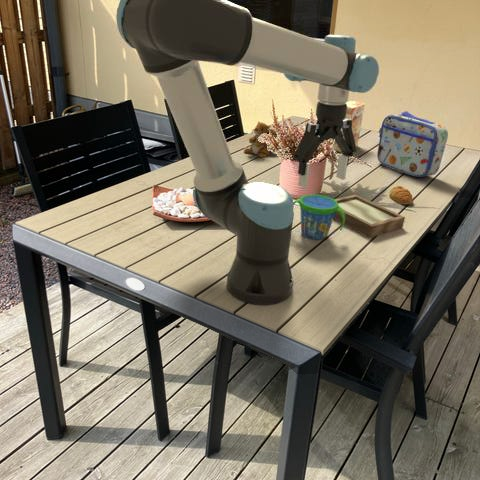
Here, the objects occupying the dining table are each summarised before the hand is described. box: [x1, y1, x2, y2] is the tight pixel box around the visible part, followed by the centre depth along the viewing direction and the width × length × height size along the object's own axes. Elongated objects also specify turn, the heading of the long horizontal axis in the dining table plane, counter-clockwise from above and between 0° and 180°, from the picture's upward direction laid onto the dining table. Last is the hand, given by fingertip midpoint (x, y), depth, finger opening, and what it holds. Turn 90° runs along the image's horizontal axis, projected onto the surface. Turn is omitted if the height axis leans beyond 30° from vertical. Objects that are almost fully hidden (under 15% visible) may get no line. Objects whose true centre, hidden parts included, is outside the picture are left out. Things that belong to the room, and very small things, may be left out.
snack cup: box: [293, 194, 345, 240], centre depth 138 cm, size 16×10×10 cm
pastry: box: [389, 185, 414, 205], centre depth 168 cm, size 9×7×4 cm
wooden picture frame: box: [333, 194, 406, 238], centre depth 151 cm, size 14×20×4 cm
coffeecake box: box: [331, 100, 366, 153], centre depth 218 cm, size 15×7×20 cm, turn 147°
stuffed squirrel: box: [243, 121, 277, 158], centre depth 206 cm, size 10×14×13 cm
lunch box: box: [376, 111, 449, 178], centre depth 193 cm, size 28×10×22 cm, turn 34°
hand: (322, 182), depth 134 cm, fingers open, 13 cm apart
